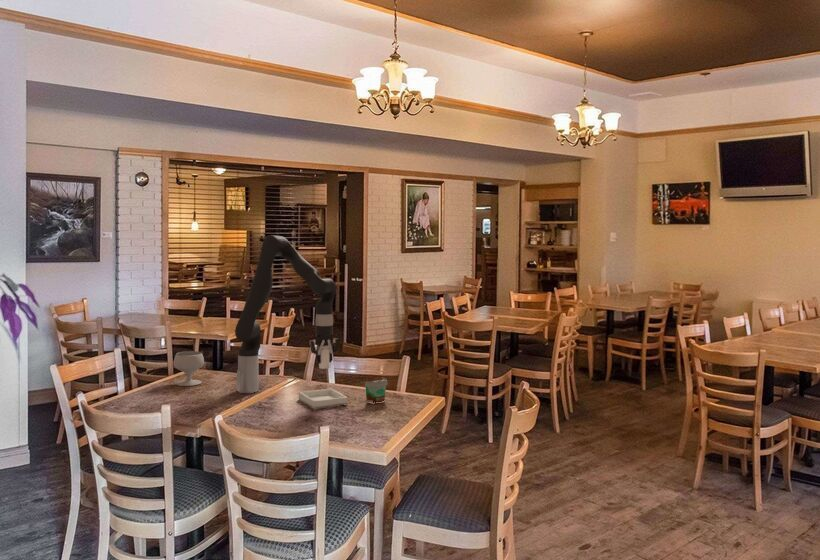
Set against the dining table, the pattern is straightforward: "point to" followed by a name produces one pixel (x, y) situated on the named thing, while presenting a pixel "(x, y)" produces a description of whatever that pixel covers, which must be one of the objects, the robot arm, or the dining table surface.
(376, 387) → the food container
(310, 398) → the tray
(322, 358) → the salt shaker
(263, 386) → the dining table surface
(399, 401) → the dining table surface
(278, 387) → the dining table surface
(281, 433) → the dining table surface
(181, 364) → the chalice
